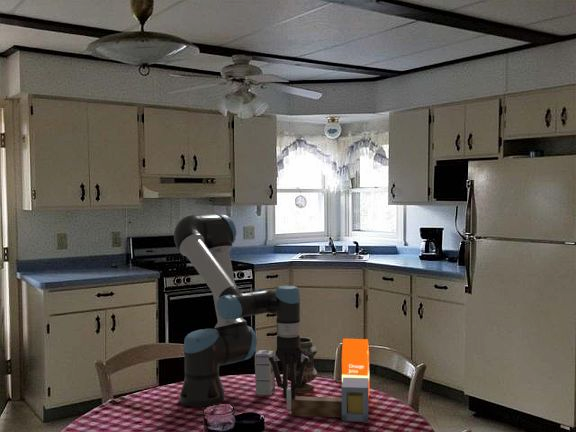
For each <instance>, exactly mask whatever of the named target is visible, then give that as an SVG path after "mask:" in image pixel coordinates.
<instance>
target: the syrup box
mask: <svg viewBox="0 0 576 432" xmlns="http://www.w3.org/2000/svg"><path fill="white" fill-rule="evenodd" d="M274 354H275V352H274V350H270V349H260V350H258V351H257V352H256V353H254V372H255V373H254V375H255V379H254V380H255V381H254V382H255V394H256V395H259V396H272V395H273V393H275V391H276V382H275V381H276V378H275V374H274V370H273V367H272V364H271V362H270V361H269V357H270V356H271V355H274Z"/></svg>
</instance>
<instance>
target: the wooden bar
mask: <svg viewBox="0 0 576 432" xmlns="http://www.w3.org/2000/svg"><path fill="white" fill-rule="evenodd" d="M347 413H348V398H347ZM290 415H291V416H296V417H297V416H298V417H299V416H300V417H301V416H303V417H319V418H320V417H325V418H326V417H327V418H342V397H327V396H325V397H324V396H301V395H300V396H297V395H296V396H295V399H291V410H290Z"/></svg>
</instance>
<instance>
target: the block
mask: <svg viewBox="0 0 576 432" xmlns="http://www.w3.org/2000/svg"><path fill="white" fill-rule="evenodd" d="M348 413H363V393H360V392H349V393H348Z"/></svg>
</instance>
